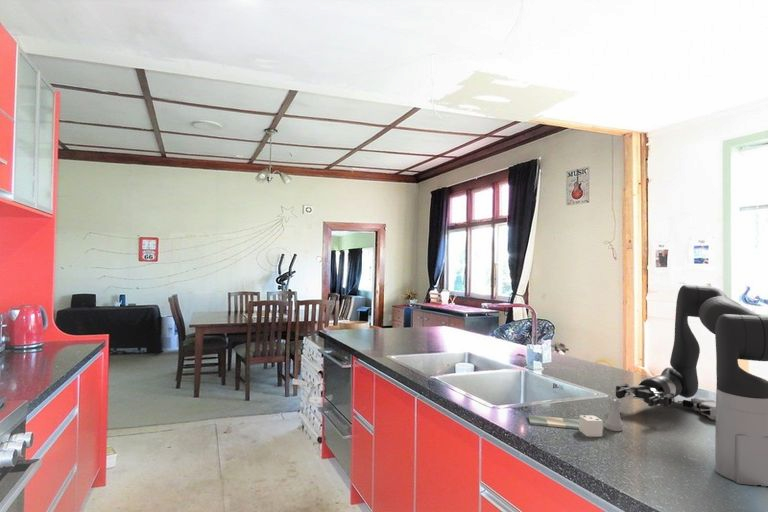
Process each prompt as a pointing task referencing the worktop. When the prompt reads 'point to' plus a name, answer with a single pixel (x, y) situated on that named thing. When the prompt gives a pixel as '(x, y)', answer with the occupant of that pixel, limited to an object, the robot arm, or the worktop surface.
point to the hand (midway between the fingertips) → (633, 398)
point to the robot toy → (702, 406)
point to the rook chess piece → (614, 415)
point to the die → (590, 425)
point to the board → (554, 422)
